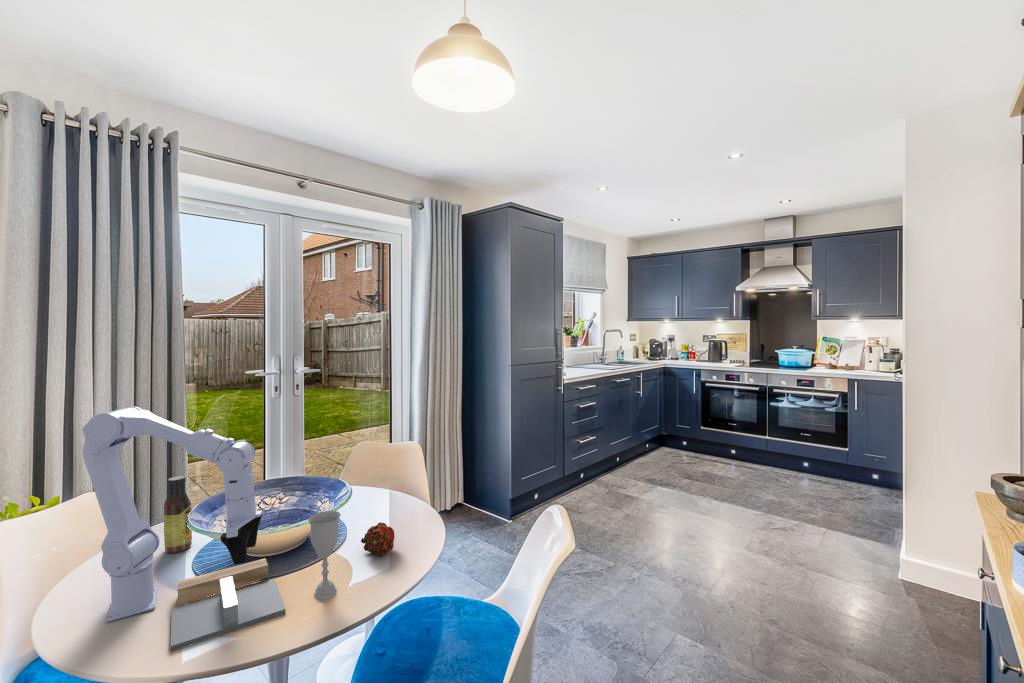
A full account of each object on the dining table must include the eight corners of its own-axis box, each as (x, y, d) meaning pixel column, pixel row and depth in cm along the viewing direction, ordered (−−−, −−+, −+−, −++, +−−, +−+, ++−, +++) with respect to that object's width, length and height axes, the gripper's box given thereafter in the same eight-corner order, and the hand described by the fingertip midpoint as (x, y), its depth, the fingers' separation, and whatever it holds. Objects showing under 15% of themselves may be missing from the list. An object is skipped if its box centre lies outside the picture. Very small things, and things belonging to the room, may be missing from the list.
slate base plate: (171, 613, 99) (171, 609, 99) (274, 583, 111) (274, 579, 111) (170, 651, 88) (170, 646, 88) (285, 613, 100) (285, 608, 100)
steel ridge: (220, 596, 104) (219, 579, 104) (232, 593, 105) (232, 576, 105) (224, 627, 93) (224, 608, 93) (238, 623, 95) (237, 604, 95)
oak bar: (177, 598, 105) (177, 581, 105) (265, 573, 116) (265, 558, 116) (177, 607, 102) (177, 589, 102) (268, 580, 113) (268, 564, 113)
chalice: (325, 605, 103) (324, 525, 102) (301, 598, 105) (301, 521, 104) (347, 587, 110) (347, 513, 109) (325, 581, 112) (324, 509, 111)
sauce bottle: (192, 550, 127) (190, 479, 127) (163, 556, 124) (162, 483, 123) (192, 541, 133) (190, 473, 132) (165, 546, 129) (163, 477, 128)
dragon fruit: (379, 570, 120) (373, 555, 131) (405, 545, 124) (397, 533, 135) (359, 546, 119) (354, 534, 130) (385, 522, 122) (379, 511, 133)
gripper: (250, 505, 98) (255, 567, 99) (268, 483, 112) (272, 537, 113) (212, 510, 96) (218, 573, 97) (235, 487, 110) (240, 542, 111)
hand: (245, 554), depth 105 cm, fingers open, 7 cm apart
